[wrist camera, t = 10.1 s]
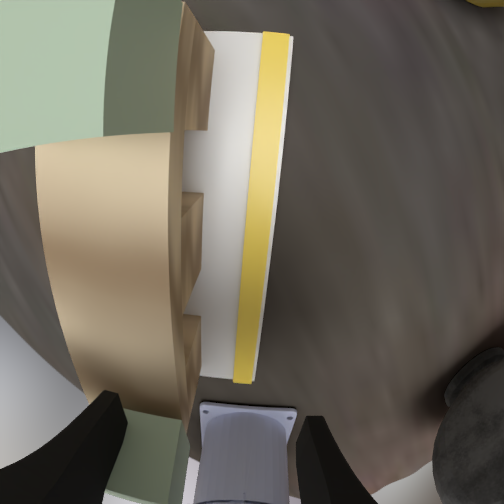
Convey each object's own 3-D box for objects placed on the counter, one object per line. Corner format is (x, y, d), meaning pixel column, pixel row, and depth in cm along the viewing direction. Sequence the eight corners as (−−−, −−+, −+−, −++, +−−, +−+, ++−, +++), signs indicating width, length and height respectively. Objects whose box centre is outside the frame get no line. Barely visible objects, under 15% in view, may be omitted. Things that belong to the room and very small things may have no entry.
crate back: (190, 446, 13) (180, 512, 10) (120, 431, 13) (105, 493, 10) (181, 420, 11) (167, 505, 8) (96, 401, 11) (73, 477, 8)
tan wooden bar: (201, 366, 18) (184, 441, 13) (129, 354, 18) (97, 421, 13) (214, 50, 12) (185, 1, 6) (117, 56, 12) (46, 29, 6)
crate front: (173, 132, 8) (103, 136, 4) (58, 142, 8) (-36, 162, 4) (183, 3, 6) (131, -67, 2) (66, 27, 6) (-17, 0, 2)
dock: (255, 361, 21) (254, 384, 19) (99, 338, 21) (87, 357, 18) (289, 47, 13) (294, 34, 11) (84, 54, 13) (64, 48, 11)
